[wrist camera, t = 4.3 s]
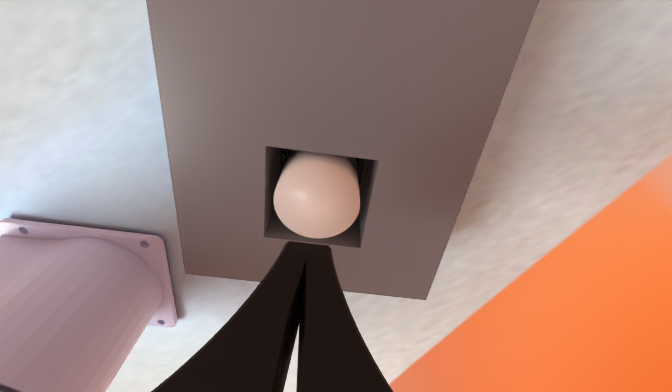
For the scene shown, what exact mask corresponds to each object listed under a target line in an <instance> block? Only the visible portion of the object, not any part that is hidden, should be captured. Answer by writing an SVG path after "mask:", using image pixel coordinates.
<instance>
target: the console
mask: <svg viewBox="0 0 672 392" xmlns="http://www.w3.org/2000/svg"><path fill="white" fill-rule="evenodd" d="M146 2H147V9H148V16H149V23H150V30H151V37H152V44H153V51H154V58H155V65H156V72H157V79H158V86H159V93H160V100H161V107H162V114H163V121H164V128H165V135H166V142H167V149H168V156H169V163H170V170H171V177H172V184H173V191H174V198H175V205H176V212H177V219H178V226H179V233H180V240H181V247H182V254H183V261H184V268H185V274H194V275H203V276H212V277H221V278H230V279H239V280H248V281H257V282H261V281H262V280H263V278H264V277H265V276H266V274H267V273H268V272H269V270H270V269H271V267H272V266H273V264H274V263H275V261H276V259H277V258H278V256H279V255H280V253H281V251H282V249H283V247H284V245H285V243H287V242H288V241H294V242H302V243H311V244H320V245H329V247H330V248H331V249H332V257H333V262H334V266H335V270H336V273H337V277H338V280H339V283H340V286H341V289H342V291H348V292H357V293H366V294H375V295H384V296H394V297H403V298H412V299H421V300H426V298H427V296H428V293H429V290H430V288H431V285H432V283H433V280H434V277H435V275H436V272H437V269H438V267H439V264H440V261H441V259H442V256H443V253H444V251H445V248H446V245H447V243H448V240H449V237H450V235H451V232H452V230H453V227H454V224H455V222H456V219H457V216H458V214H459V211H460V208H461V206H462V203H463V200H464V198H465V195H466V192H467V190H468V187H469V184H470V182H471V179H472V177H473V174H474V171H475V169H476V166H477V163H478V161H479V158H480V155H481V153H482V150H483V147H484V145H485V142H486V139H487V137H488V134H489V131H490V129H491V126H492V124H493V121H494V118H495V116H496V113H497V110H498V108H499V105H500V102H501V100H502V97H503V94H504V92H505V89H506V86H507V84H508V81H509V78H510V76H511V73H512V71H513V68H514V65H515V63H516V60H517V57H518V55H519V52H520V49H521V47H522V44H523V41H524V39H525V36H526V33H527V31H528V28H529V25H530V23H531V20H532V18H533V15H534V12H535V10H536V7H537V4H538V2H539V0H146ZM281 148H285V149H292V150H300V151H308V152H316V153H324V154H332V155H340V156H347V157H355V158H363V159H366V161H365V166H364V171H363V177H362V182H361V187H360V210H359V213H358V216H357V218H356V219H355V221H354V222H353V224H352V225H351V226H350V227H349V228H348V229H346V230H345V231H344V232H342V233H340V234H338V235H335V236H332V237H328V238H309V237H305V236H302V235H299V234H297V233H295V232H293V231H292V230H290V229H289V228H288V227H286V226H285V225H284V224H283V223H282V221H281V220H280V219H279V217H278V215H277V213H276V211H275V208H274V199H273V198H274V192H275V189H276V186H277V183H278V181H279V178H280V170H281Z"/></svg>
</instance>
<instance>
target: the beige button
mask: <svg viewBox="0 0 672 392" xmlns="http://www.w3.org/2000/svg"><path fill="white" fill-rule="evenodd" d="M273 199H274V208H275V211H276V213H277V215H278V217H279V219H280V220H281V221H282V223H283V224H284V225H285V226H286V227H288V228H289V229H290V230H292V231H293V232H295V233H297V234H299V235H302V236H305V237H309V238H328V237H332V236H335V235H338V234H340V233H342V232H344V231H345V230H346V229H348V228H349V227H350V226H351V225H352V224H353V222H354V221H355V219H356V218H357V216H358V213H359V210H360V192H359V179H358V167H357V163H356V160H355V158H354V157H347V156H340V155H332V154H324V153H316V152H308V151H300V150H292V151H291V152H290V154H289V155H288V158H287V160H286V163H285V165H284V168H283V170H282V173H281V176H280V178H279V181H278V183H277V186H276V189H275V192H274V198H273Z"/></svg>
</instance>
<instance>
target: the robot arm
mask: <svg viewBox="0 0 672 392" xmlns="http://www.w3.org/2000/svg"><path fill="white" fill-rule="evenodd" d="M0 233H1V235H2V236H0V392H106V390H107V388H108V387H109V385H110V384H111V382H112V380H113V379H114V377H115V376H116V374H117V372H118V371H119V369H120V367H121V366H122V364H123V363H124V361H125V359H126V358H127V356H128V355H129V353H130V351H131V350H132V348H133V347H134V345H135V343H136V342H137V340H138V339H139V337H140V335H141V334H142V332H143V331H144V329H145V327H146V326H147V325H154V326H163V327H173V326H175V325H176V323H177V321H178V319H177V313H176V307H175V302H174V296H173V290H172V285H171V279H170V273H169V267H168V262H167V256H166V250H165V245H164V241H163V239H162V238H161V237H159V236H156V235H149V234H141V233H132V232H123V231H114V230H106V229H97V228H88V227H79V226H71V225H62V224H53V223H45V222H36V221H27V220H18V219H10V218H5V219H3V220H1V221H0ZM144 241H146V242H147V243H146V242H144ZM299 322H300V323H299ZM298 326H299V345H298V369H297V392H393V391H392V389H391V388H390V386H389V384H388V383H387V381H386V380H385V378H384V376H383V375H382V373H381V371H380V369H379V368H378V366H377V364H376V362H375V361H374V359H373V357H372V355H371V353H370V352H369V350H368V348H367V346H366V344H365V342H364V340H363V338H362V336H361V334H360V332H359V330H358V328H357V326H356V323H355V321H354V319H353V317H352V314H351V312H350V310H349V307H348V305H347V302H346V299H345V297H344V294H343V291H342V289H341V286H340V283H339V280H338V277H337V273H336V270H335V266H334V262H333V257H332V249H331V248H330V247H329V245H320V244H311V243H302V242H294V241H288V242H287V243H285V245H284V247H283V249H282V251H281V253H280V255H279V256H278V258H277V259H276V261H275V263H274V264H273V266H272V267H271V269H270V270H269V272H268V273H267V274H266V276H265V277H264V278H263V280H262V281H261V282H260V284H259V285H258V286H257V288H256V289H255V290H254V292H253V293H252V294H251V295H250V296H249V298H248V299H247V300H246V301H245V302H244V304H243V305H242V306H241V307H240V308H239V309H238V311H237V312H236V313H235V314H234V315H233V316H232V317H231V318H230V320H229V321H228V322H227V323H226V324H225V325H224V326H223V327H222V328H221V329H220V330H219V331H218V332H217V333H216V334H215V335H214V336H213V337H212V338H211V339H210V340H209V341H208V342H207V343H206V344H205V345H204V346H203V347H202V348H201V349H200V350H199V351H198V352H197V353H195V354H194V355H193V356H192V357H191V358H190V359H189V360H188V361H187V362H186V363H185V364H184V365H182V366H181V367H180V368H179V369H178V370H177V371H176V372H174V373H173V374H172V375H171V376H170V377H169V378H167V379H166V380H165V381H164V382H163V383H161V384H160V385H159V386H158V387H156V388H155V389H154V390H153V391H151V392H283V390H284V386H285V381H286V377H287V373H288V369H289V364H290V360H291V356H292V352H293V348H294V343H295V339H296V335H297V330H298Z"/></svg>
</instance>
